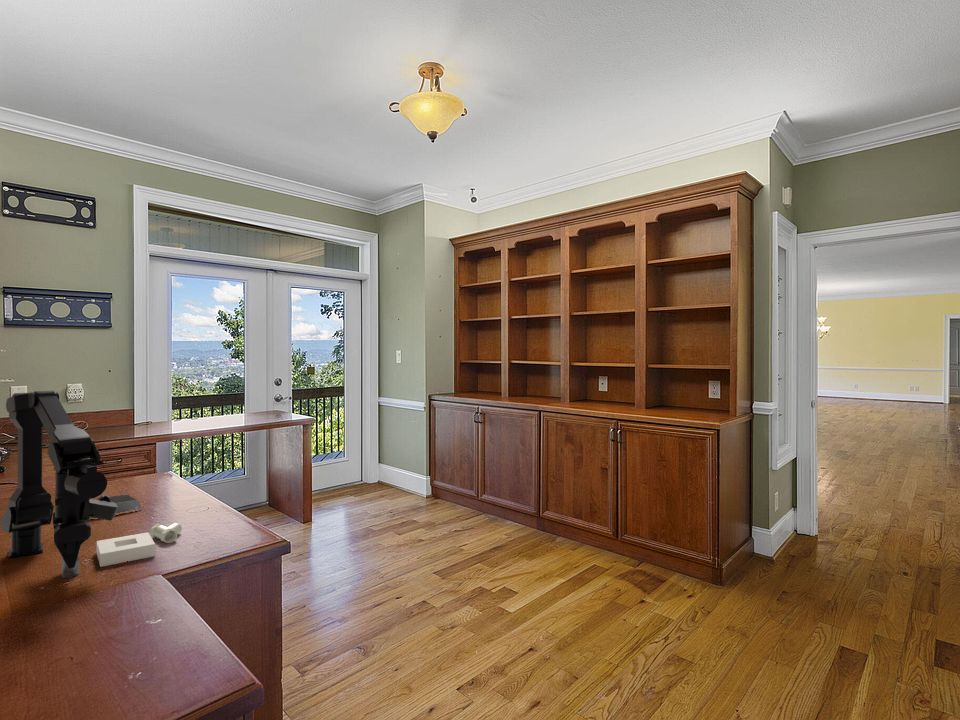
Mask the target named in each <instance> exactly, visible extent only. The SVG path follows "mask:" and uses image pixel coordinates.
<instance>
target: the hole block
mask: <svg viewBox="0 0 960 720" xmlns="http://www.w3.org/2000/svg"><path fill="white" fill-rule="evenodd" d="M96 557H97V561H98V564H99V566H100V568H101V567H107V566H111V565H117V564H122V563H127V561H128V562H132V561H136V560H142V559H148V558H153V557H156V543H155V541H154V540H153V538H152V536H151V533H150V532H143V533H136V534H131V535H125V536H119V537H114V538H105V539H101V540H100V539H99V540H96Z"/></svg>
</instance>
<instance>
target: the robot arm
mask: <svg viewBox="0 0 960 720" xmlns="http://www.w3.org/2000/svg"><path fill="white" fill-rule="evenodd" d="M5 406H6V408H5V409H6V412H7V413H8V418H9V420H10V421H11V423H12V424H13V425H14V427H16V429H17V486H16V489H15V491H14V492H13V493H12V494H11V496H9V499H8V507H7V508H6V509H5V511H4V514H3V515H2V518H1V520H0V527H1V530H2V531H3V532H5V533H7V534H9V533H10V548H9V549H8V555H7V557H8V558H10V559H11V558H17V557H22V556H28V555H33V554H39V553H43V552H44V543H43V542H42V527H43V526H47V525H51V523H52V525H53V543H54V545H55V547H56V548H57V550H58V551H59V553H60V556H61V558H62V557H63V559H64V561H65V563H66V565H67V567H68V568H74V567H75V565H76V561H77V557H78V553H79V554H80V550H81V545H82V544H84V543H85V542H86V541H88V540H89V539H90V537H92V527H91V524H90V523H89V522H88V521H86V520H89V518H90V517H95V518H101V519H102V520H105V521H113V519H114V517H115V516H114V515H115V512H116V510H117V508H118V506H117V504H116V503H114V502H110V497H111V496H110V495H105V494H103V493H104V492H105V491H106V489H107V486H108V480H107V477H106V476H105V474H103V473H102V472H100V471H98V466H101V465H102V464H101V458H102V457H101V455H100V453H99V449H98V447H97V445H96V444H95V441H94V439H93V438H92V437H91V436H90V435H89V434H88V432H86V430H84V429H82V428H79V427H77V426H75V425H74V423H73V421H72V420H71V418H70V416H69V415H68V412H67V411H66V409H65V407H64V406H63V404H62V403H61V401H60V394H59V392H58V391H55V390H34V391H33V392H16V393H13V394H12V395H11V397H7V399H6V401H5ZM43 429H45V431H46V433H47V435H48V437H49V439H50V441H49V444H48V447H47V454H48V457H49V459H50V461H51V463H52V465H53V471H55V479H54V481H55V482H54V504H53V502H52V494H51V493H50V492H48V491H47V490H46V489H45V488H44V487H43ZM97 498H98V499H97ZM93 499H94V500H93ZM89 521H90V520H89ZM8 558H7V559H8Z"/></svg>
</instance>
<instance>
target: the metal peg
mask: <svg viewBox="0 0 960 720" xmlns="http://www.w3.org/2000/svg"><path fill="white" fill-rule="evenodd" d="M61 559H62V560H61V561H62V562H61V565H62V566H61V577H62V578H64V579H68V578H73V577H76V576H78V575H79V574H80V552H79V553H78V557H77V561H76V565H75V567H74V568H68V567H67V565H66V563H65V561H64V559H63V557H62V556H61Z"/></svg>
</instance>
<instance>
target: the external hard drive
mask: <svg viewBox="0 0 960 720" xmlns="http://www.w3.org/2000/svg"><path fill="white" fill-rule="evenodd" d="M109 497H110V502H114V503H116V504H117V506H118V508H117V510H116V512H115V513H120V512H125V511H130V510H136V509H140V508H141V509H142V506H141V503H140V501H139V499H137V498H134V497H132V496H131V495H129V494H122V495H113V496H109ZM98 498H99V497H96V499H98ZM92 499H93V500H94V499H95V498H92ZM90 518H95V517H90ZM90 518H89V519H90Z"/></svg>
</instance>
